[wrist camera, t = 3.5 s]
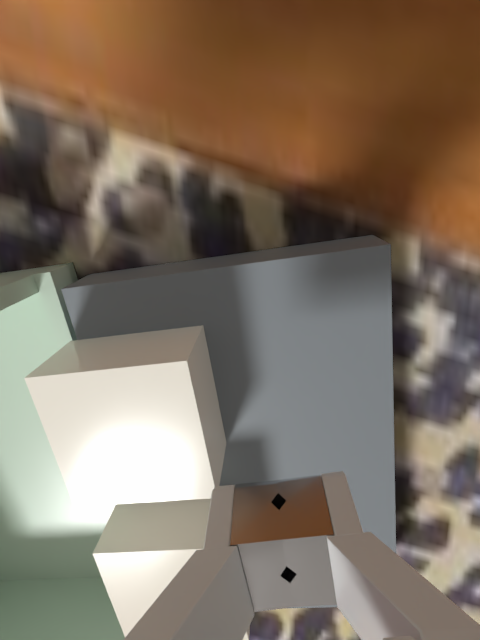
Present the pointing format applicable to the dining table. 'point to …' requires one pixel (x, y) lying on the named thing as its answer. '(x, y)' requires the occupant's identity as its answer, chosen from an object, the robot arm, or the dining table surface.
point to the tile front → (132, 417)
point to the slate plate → (279, 357)
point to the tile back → (147, 552)
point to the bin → (42, 482)
